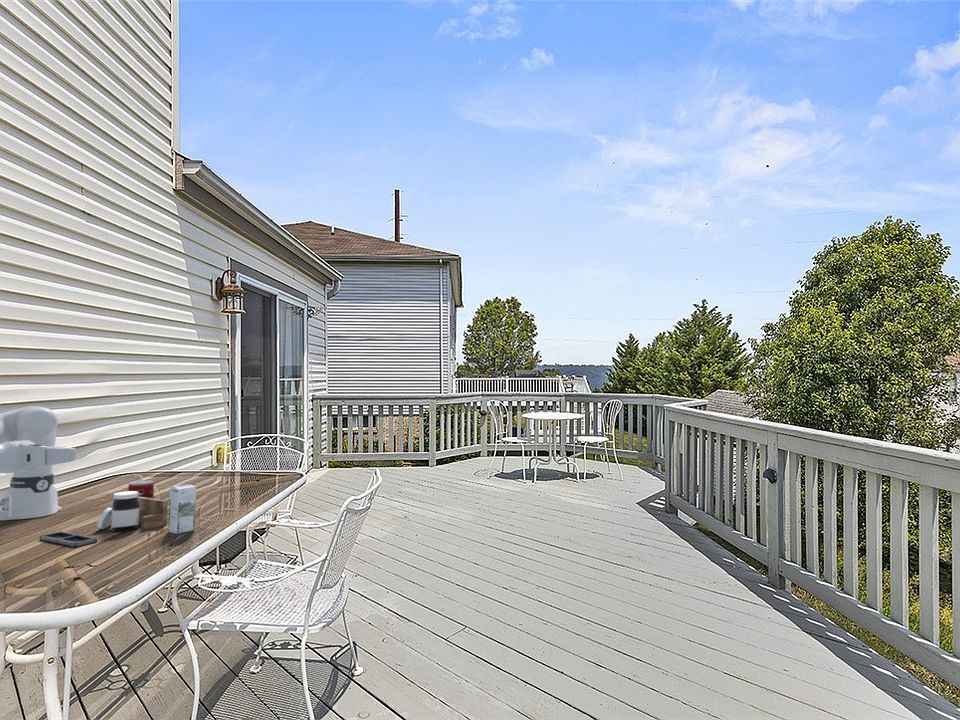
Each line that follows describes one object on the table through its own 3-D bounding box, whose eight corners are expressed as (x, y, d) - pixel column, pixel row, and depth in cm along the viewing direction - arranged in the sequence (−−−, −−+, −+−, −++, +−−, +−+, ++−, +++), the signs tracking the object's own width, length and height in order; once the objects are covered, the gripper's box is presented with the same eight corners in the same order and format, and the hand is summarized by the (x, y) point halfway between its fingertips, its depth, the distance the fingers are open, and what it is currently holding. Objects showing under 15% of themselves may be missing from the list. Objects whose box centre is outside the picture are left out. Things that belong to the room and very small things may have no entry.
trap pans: (39, 539, 169) (39, 535, 169) (61, 535, 175) (61, 531, 175) (75, 547, 162) (75, 543, 162) (97, 542, 167) (97, 538, 167)
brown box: (111, 524, 188) (111, 500, 188) (134, 519, 195) (134, 496, 196) (144, 530, 181) (144, 505, 181) (166, 524, 188) (167, 500, 189)
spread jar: (139, 530, 180) (140, 494, 181) (97, 535, 174) (98, 498, 174) (137, 522, 190) (138, 488, 191) (97, 527, 184) (98, 492, 184)
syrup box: (185, 528, 183) (187, 483, 184) (195, 531, 180) (196, 485, 181) (167, 532, 179) (169, 486, 179) (177, 535, 175) (178, 488, 176)
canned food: (123, 512, 204) (124, 482, 205) (145, 508, 211) (145, 479, 212) (135, 515, 201) (136, 484, 201) (157, 510, 208) (158, 481, 208)
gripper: (0, 465, 162) (52, 459, 175) (41, 469, 154) (93, 463, 167) (1, 443, 163) (53, 438, 175) (42, 446, 154) (94, 441, 167)
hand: (73, 450), depth 171 cm, fingers closed
